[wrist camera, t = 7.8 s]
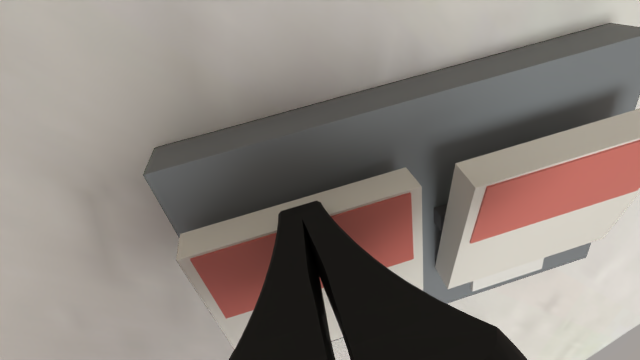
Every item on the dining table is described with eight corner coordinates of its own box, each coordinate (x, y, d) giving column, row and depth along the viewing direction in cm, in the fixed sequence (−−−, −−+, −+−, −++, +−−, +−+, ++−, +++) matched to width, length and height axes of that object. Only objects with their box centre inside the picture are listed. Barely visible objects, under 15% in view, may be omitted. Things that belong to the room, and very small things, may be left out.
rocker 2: (583, 219, 17) (604, 239, 16) (435, 267, 17) (448, 290, 16) (663, 101, 12) (699, 121, 11) (455, 163, 12) (476, 189, 11)
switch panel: (557, 234, 21) (595, 264, 19) (251, 333, 19) (254, 379, 17) (610, 23, 14) (678, 32, 12) (154, 148, 13) (138, 184, 11)
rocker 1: (411, 288, 16) (424, 311, 15) (245, 342, 16) (246, 370, 15) (405, 167, 12) (422, 187, 11) (180, 233, 11) (175, 261, 10)
